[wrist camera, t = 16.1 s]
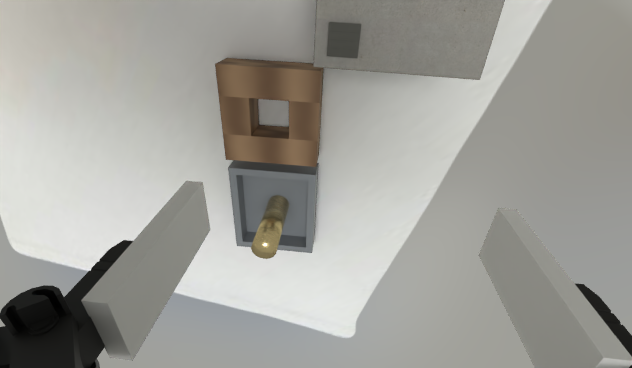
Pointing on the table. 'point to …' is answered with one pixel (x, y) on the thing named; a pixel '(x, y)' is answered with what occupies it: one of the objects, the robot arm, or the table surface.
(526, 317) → the robot arm
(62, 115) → the table surface
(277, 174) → the tray
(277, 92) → the block
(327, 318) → the table surface
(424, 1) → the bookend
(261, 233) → the lock pin
